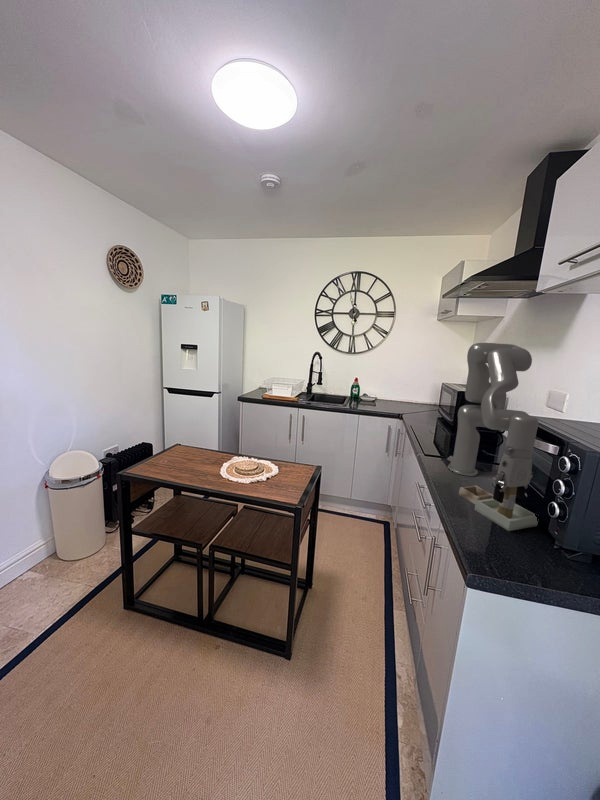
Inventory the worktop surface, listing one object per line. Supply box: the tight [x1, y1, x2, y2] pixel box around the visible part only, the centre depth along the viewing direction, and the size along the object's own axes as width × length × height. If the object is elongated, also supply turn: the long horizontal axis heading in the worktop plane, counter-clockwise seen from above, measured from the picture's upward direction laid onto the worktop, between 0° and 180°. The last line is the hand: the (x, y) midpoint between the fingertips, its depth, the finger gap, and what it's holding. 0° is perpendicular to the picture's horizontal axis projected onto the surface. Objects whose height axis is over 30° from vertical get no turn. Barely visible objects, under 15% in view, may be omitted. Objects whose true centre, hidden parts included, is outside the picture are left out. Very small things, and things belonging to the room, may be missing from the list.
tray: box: [474, 498, 539, 532], centre depth 107 cm, size 13×13×4 cm
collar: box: [458, 485, 494, 505], centre depth 119 cm, size 8×8×3 cm
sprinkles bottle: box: [497, 481, 517, 518], centre depth 106 cm, size 5×5×14 cm
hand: (508, 499), depth 106 cm, fingers open, 9 cm apart
